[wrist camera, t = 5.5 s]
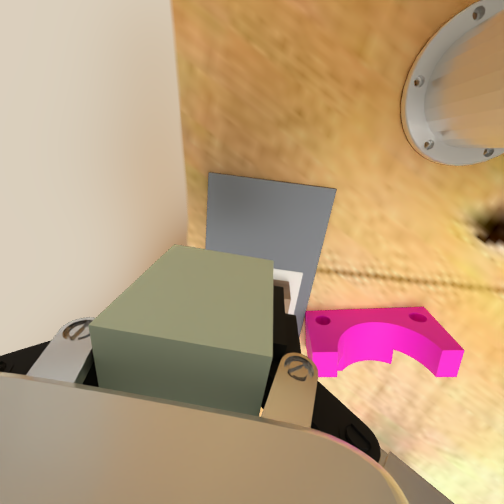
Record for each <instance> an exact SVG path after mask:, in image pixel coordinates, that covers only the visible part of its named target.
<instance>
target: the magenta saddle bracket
mask: <svg viewBox="0 0 504 504" xmlns="http://www.w3.org/2000/svg"><path fill="white" fill-rule="evenodd" d="M305 325H306V348H307V354H308V358H309V359H311V360H312V361H313V362H314V364H315V365H316V367H317V369H318V377H337V371H342V370H343V369H344V368H346V367H347V366H348V365H350V364H352V363H355V362H358V361H364V360H375V361H382V362H386V363H389V364H391V361H392V354H393V349H394V350H397V351H400V352H402V353H404V354H406V355H408V356H410V357H412V358H414V359H415V360H417V361H419V362H420V363H421V364H423V365H424V366H425V367H426V368H428V369H429V370H430V371H431V372H432V373H433V374H434V375H435V377H457V373H458V370H459V367H460V363H461V360H462V357H463V353H464V349H463V348H462V347H461V346H460V345H459V344H458V343H457V342H456V341H455V340H454V339H453V338H452V337H451V335H450V334H449V333H448V332H447V331H446V330H445V329H444V328H443V327H442V326H441V325H440V324H439V323H438V322H437V321H436V319H435V318H434V317H433V316H432V315H431V314H430V313H429V312H428V311H427V310H426V309H425V308H424V307H401V308H373V309H346V310H318V311H306V312H305Z"/></svg>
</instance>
